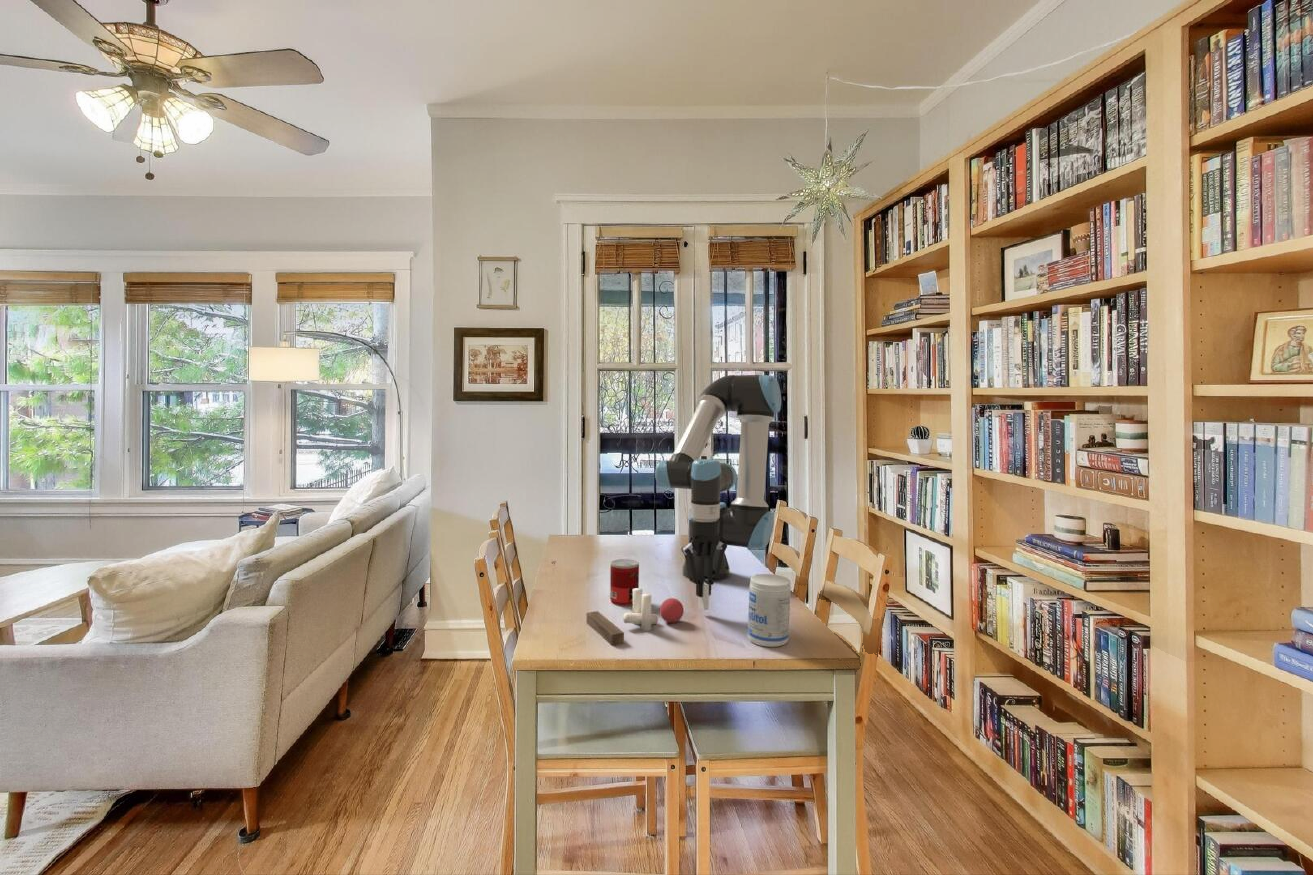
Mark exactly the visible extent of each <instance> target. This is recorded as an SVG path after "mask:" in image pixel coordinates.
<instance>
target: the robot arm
mask: <svg viewBox="0 0 1313 875" xmlns="http://www.w3.org/2000/svg"><path fill="white" fill-rule="evenodd" d="M779 384H780V383H779V381H778V379H777V378H776V377H775V376H773V375H766V374H747V375H746V374H743V375H741V374H739V375H737V374H736V375H734V374H730V375H729V374H728V375H724V376H722V377H720V378H718V379H716V380H714V381H712V382H711V383H710V384H709V385H708V386H707V387H706V388H705V389H704V390H703V391H702V392H701V394H699V397H698V399H697V400H696V403H695V408H696V410H695V411H694V413H693V414H692V416H691V419H690V420H689V422H688V424H687V427H686V428H685V430H684V432H683V434H682V436H681V438H680V440H679V442H678V444H677V446H676V448H675V449H674V451H673V453H672V455H671V457H670V459H669V460H668V459H665V460H661V461H659V462H657V464H656V467H655V471H654V475H655V480H656V481H655V482H656V484H658V486H660V487H663V488H670V489H681V490H682V489H685V490H690V494H691V495H690V497H691V499H690V509H689V512H688V513H689V516H688V544H687V545H685V546H682V547H681V552H682V553H683V555H684V563H683V565H682V575H683V576H684V577H687V578H688V580H689V581H690V582H691V583H694V584H695V595H696V597H698V601H697V602H698V604H697V607H698V608H699V609H700V610H702V611H706V610H709V602H710V601H709V600H710V598H709V596H711V595H712V586H713V585H714V583H715V582H717V581H721V580H725V579H727V578H729V577H730V573H731V572H730V571H731V569H730V565H729V562H728V558H727V555H726V550H727V548H728V546H730V547H731V546H732V547H739V548H747V549H750V550H751V549H758V550H760V549H764V548H765V547H766V546H768V544H769V542H770V540H771V537H772V535H773V529H774V524H775V519H774V518H775V515H774V513H773V512H771V511H769V505H768V503H767V502H766V501H765V491H766V490H765V489H766V476H767V475H766V474H767V473H766V472H767V458H768V457H767V456H768V442H769V428H770V424H771V422H772V421H774V420H775V414H777V413H779V412H780V411H781V409H782V408H781V407H782V394H781V389H780V388H781V387H780V385H779ZM727 412H735V413H736V417H737V418H738V420H739V421H740V424H741V425H740V439H739V440H740V441H739V451H738V452H739V453H738V469H737V470H738V472H737V470H736V469H735V467H734V466H733V465H732V464H729V463H726V462H724V463H723V462H721V461H720V460H717V459H712V458H711V459H710V458H709V459H708V458H707V459H706V458H705V459H704V458H702V459H700V458H701V455H702V454H703V452H704V450H705V447H706V445H707V443H708V441H709V439H710V438H711V435H712V433H713V432H714V430H715V427H716V424H718V421H719V420H720V419H722V418H723V417H724V415H725V413H727ZM736 483H737V485H736V497H735V499H734V500H733V501H731V504H730V507H727V504H726V503H725V502H722V501H721V493H722V492H725V491H728V490H730V489H731V488H733V486H734V485H735V484H736Z"/></svg>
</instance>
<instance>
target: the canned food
mask: <svg viewBox="0 0 1313 875" xmlns="http://www.w3.org/2000/svg"><path fill="white" fill-rule="evenodd" d="M609 570H610V572H609V573H610V577H609V578H610V579H609V580H610V586H609V587H610V588H609V589H610V590H609V591H610V594H609V596H610V601H611V602H610V603H612V604H614V605H617V606H633V605H632V604H633V589H635V588H640V563H639V561H637V560H634V559H630V558H620V559H619V558H618V559H614V560H612V561H611V562H610V568H609Z"/></svg>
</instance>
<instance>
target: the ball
mask: <svg viewBox="0 0 1313 875" xmlns="http://www.w3.org/2000/svg"><path fill="white" fill-rule="evenodd" d="M684 612H685V611H684V605H683V603H682V602H681V601H680V600H679V599H677V598H674V597H673V598H672V597H671V598H667V599H665V600H663V602H662V603H661V604H660V608H659V613H660V616H661V618H662V619H663V620H664V621H665V622H667V623H670V624H671V623H678V622H679V621H680V620H681V619H682V618H683V615H684Z"/></svg>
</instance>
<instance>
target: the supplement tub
mask: <svg viewBox="0 0 1313 875" xmlns="http://www.w3.org/2000/svg"><path fill="white" fill-rule="evenodd" d="M791 587H792V586H791V580H790V579H789V578H787V577H785V576H783V575H778V574H771V573H759V574H755V575H753V576H751V578H750V582H749V590H748V592H749V593H748V615H747V616H748V617H747V618H748V619H747V638H748V639H749V641H750V642H752V643H753V644H755V645H758V646H762V647H768V648H777V647H782V646H785V645H786V644H787V643H788V641H789V636H790V635H789V634H790V633H789V631H790V627H789V626H790V616H791V615H790V614H791V613H790V612H791V611H790V610H791V594H792V593H791V589H792V588H791Z"/></svg>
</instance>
